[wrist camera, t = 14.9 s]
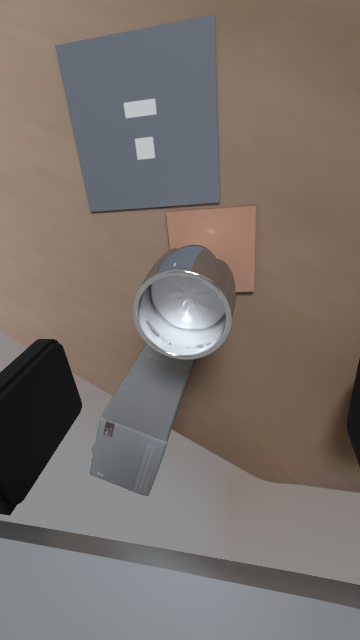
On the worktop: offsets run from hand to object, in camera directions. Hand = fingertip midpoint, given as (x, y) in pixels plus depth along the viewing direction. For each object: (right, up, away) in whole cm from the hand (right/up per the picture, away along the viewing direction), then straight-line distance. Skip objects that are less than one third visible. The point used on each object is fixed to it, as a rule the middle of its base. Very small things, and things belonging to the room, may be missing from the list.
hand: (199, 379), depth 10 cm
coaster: (+3, +9, +23) cm, 25 cm away
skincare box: (-3, -4, +32) cm, 32 cm away
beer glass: (+2, +9, +23) cm, 25 cm away
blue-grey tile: (-4, +20, +19) cm, 28 cm away
